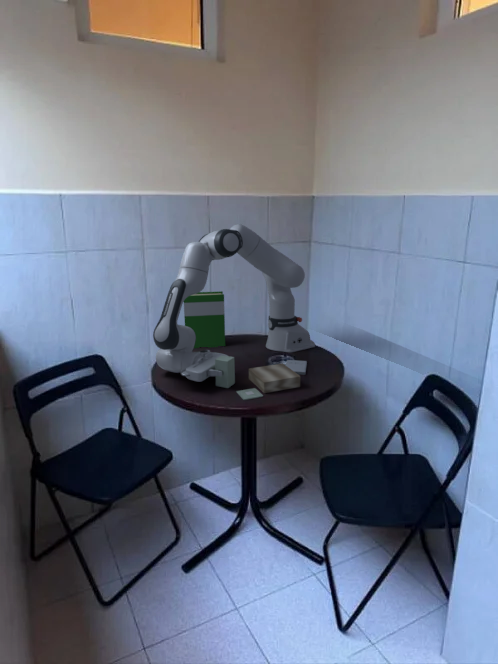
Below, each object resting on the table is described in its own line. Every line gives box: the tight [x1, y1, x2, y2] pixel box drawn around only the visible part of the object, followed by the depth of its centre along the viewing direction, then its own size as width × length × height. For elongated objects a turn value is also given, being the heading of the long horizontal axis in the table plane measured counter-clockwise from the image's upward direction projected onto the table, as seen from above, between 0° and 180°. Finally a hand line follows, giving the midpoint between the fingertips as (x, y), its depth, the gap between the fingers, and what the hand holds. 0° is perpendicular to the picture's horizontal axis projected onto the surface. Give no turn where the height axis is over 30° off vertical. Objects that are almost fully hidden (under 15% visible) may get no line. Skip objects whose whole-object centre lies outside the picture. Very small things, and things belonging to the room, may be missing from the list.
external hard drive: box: [285, 359, 308, 376], centre depth 176 cm, size 2×8×12 cm
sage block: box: [215, 355, 236, 389], centre depth 159 cm, size 5×5×10 cm
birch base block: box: [248, 363, 301, 394], centre depth 162 cm, size 14×14×4 cm
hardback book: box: [183, 290, 226, 349], centre depth 201 cm, size 18×7×24 cm, turn 99°
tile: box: [235, 387, 264, 401], centre depth 152 cm, size 7×7×1 cm
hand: (227, 370), depth 158 cm, fingers closed on sage block, 5 cm apart
